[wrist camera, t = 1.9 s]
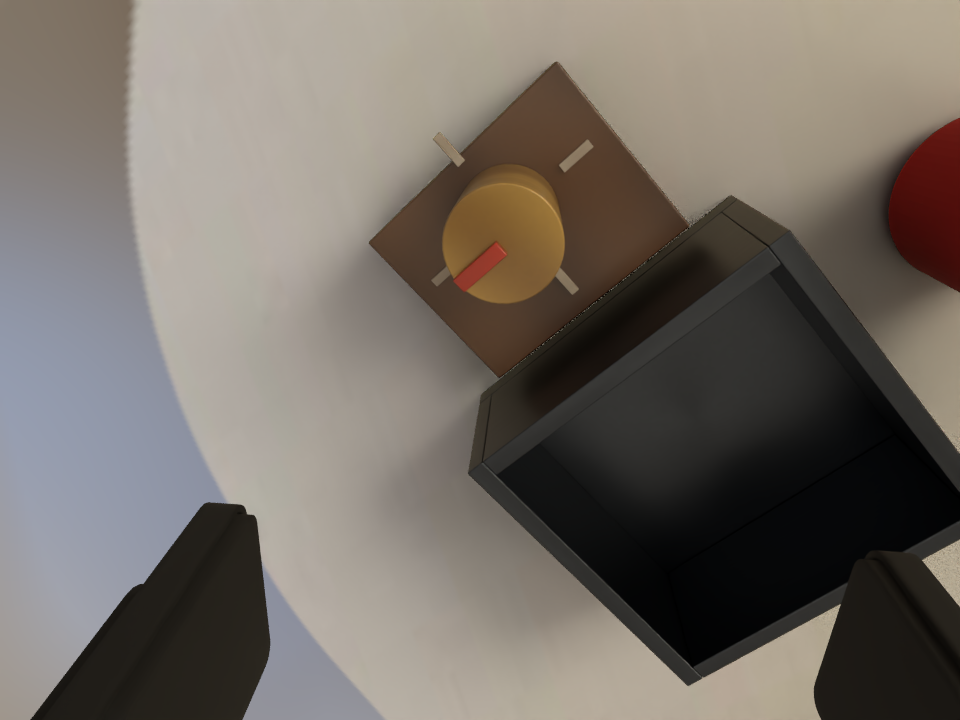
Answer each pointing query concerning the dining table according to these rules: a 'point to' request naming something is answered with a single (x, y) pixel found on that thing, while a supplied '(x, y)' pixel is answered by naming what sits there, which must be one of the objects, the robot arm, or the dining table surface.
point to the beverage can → (930, 207)
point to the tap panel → (583, 207)
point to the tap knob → (504, 235)
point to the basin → (717, 446)
